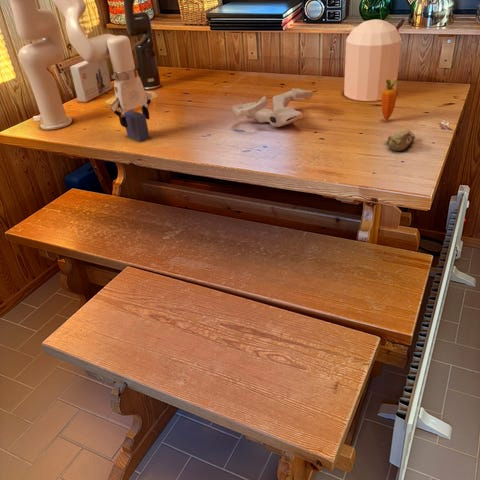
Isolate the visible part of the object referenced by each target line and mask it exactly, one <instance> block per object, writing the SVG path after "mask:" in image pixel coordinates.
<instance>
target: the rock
mask: <svg viewBox="0 0 480 480" xmlns="http://www.w3.org/2000/svg"><path fill="white" fill-rule="evenodd" d="M415 139H416V135H415V134H414V132H412V131H411V130H408V129H407V130H404V131H398V132H396V133H394V134H393V135H392V134H391V135H389V136H388V137H387V143H388V145H387V146H388V147H389V149H391V150H392V151H395V152H404V151H406V150H407V148H409V145H410V144H411V143H412V142H413V141H414V140H415Z"/></svg>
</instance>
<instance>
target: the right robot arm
mask: <svg viewBox="0 0 480 480" xmlns="http://www.w3.org/2000/svg"><path fill="white" fill-rule="evenodd" d="M135 1H136V0H122V3H123V10H124V22H125V27H126V32H127V34H128V35H129V36H130V37H137V36H143V37H141V39H140V40H139V41H137V42H135V44H134V45H133V50H134V54H135V59H136V64H137V67H136V73H137V76H139V77H140V80H141V82H142V85H143V88H144V91H151V90H152V91H153V90H157V89H159V88H161V87H162V83H161V78H160V73H159V72H160V71H159V67H158V66H159V65H158V62H157V61H158V60H157V55H156V50H155V44H154V36H153V27H152V22H151V18H150V15H149V13H148V12H147V11H138V12H134V7H135ZM109 76H110V79H112V77H111V75H109ZM113 81H115V79H113Z"/></svg>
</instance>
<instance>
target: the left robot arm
mask: <svg viewBox="0 0 480 480" xmlns="http://www.w3.org/2000/svg"><path fill="white" fill-rule="evenodd" d="M9 2H10V7H11V10H12V11H11V13H12V16H13V20H14V25H15V29H16V32H17V34H18V36H19V38H20V39H21V40H22V41H24V42H32V43H28V44H26V45H24V46H22V47H21V48H20V49H19V51H18V53H17V57H18V61H19V63H20V65H21V67H22V68H23V70H24V72H25V74H26V76H27V79H28V82H29V85H30V88H31V91H32V93H33V96H34V98H35V102H36V105H37V108H38V111H39V114H40V115H33V116H32V119H33V122H34V123H38V122H40V124H39V126H40V128H41V129H42V130H45V131H51V130H59V129H63V128H65V127H67V126H69V125H71V123H72V122H73V120H72V118H71V117H70V116H67V114H66V110H65V107H64V103H63V100H62V97H61V94H60V90H59V87H58V83H57V81H56V78H55V77H54V76H53V74H52V73H51V72H50V71H49V70H48V68H51V67H53V66H56V65H58V64H60V63H61V62H63V60H64V57H65V51H64V45H63V39H62V33H61V29H60V23H59V21H58V19H57V17H56V15H55V14H54V13H53V12H52V11H51V10H49V9H47V8H39V9H38V6H37V0H9ZM51 2H52V3H53V5H55V7H56V8H57V9H58V11H59V12H60V13H61V15H62V16H63V17H64V20H65V30H66V34H67V38H68V41H69V43H70V45H71V46H72V47H73V49H74V50H75V51H76V52H77V54H78V55H79V56H80V57H81V59H83V61H87V62H89V63H96V62H99V61H102V60H104V59H106V60H107V59H110V62H111V67H112V73H113V74H111V75H110V76H111V80H113V87H114V97H115V100H114V101H113V102H112V103H111V104H110V105H109V109H110V111H111V112H112V113H113V114H115V115H116V116H118V119H119V124H120V126H121V127H123V128H125V129H126V128H127V127H128V125H127V121H126V117H125V116H124V114H125V112H128V111H131V110H134V109H137V108H140V107H141V112H142V113H141V114H144V115H145V117H146V120H150V110H149V109H150V104H151V102H152V97H153V94H152V93H150V92H146V90H144V88H143V85H142V82H141V80H140V77H139V76H138V73H137V68H136V65H135V64H136V63H135V59H134V55H133V50H132V44H131V41H130V38H129V37H128V36H127V35H115V34H111V33H103V34H100V35H96V36H93V37H89V38H88V37H87V35H86V34H85V33H84V32H83V30H82V29H81V26H80V23H79V19H81V17H82V16H83V15H84V13H85V12H86V10H87V4H86V1H85V0H51ZM41 39H42V40H41ZM37 40H40V41H37ZM33 41H35V42H33ZM114 79H115V80H114ZM116 108H118V109H116Z"/></svg>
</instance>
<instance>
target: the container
mask: <svg viewBox="0 0 480 480" xmlns="http://www.w3.org/2000/svg"><path fill="white" fill-rule="evenodd" d="M401 50H402V37H401V35H400V32H399V31H398V29H397V27H396V26H394V25H393V24H392V23H390V22H388V21H386V20H383V19H378V18H377V19H376V18H375V19H369V20H364V21H363V22H361V23H359V24H358V25H356V26H355V27H354V28H352V30H351V31H350V33H349V34H348V36H347V37H346V39H345V55H344V59H345V60H344V81H343V83H344V85H343V94H344V96H345V97H346V98H347V99H351V100H354V101H363V102H377V101H381V98H382V91H383V90H384V89H386V88H387V87H386V85H387V83H386V79H390V82H391V84H393V82H394V80H395V79H397V81H396V83H395V84H394V86H393V88H394V89H395V90H396V91H397V87H398V86H397V85H398V83H397V82H398V76H399V67H400V59H401V58H400V57H401ZM389 86H390V85H389ZM391 86H392V85H391Z"/></svg>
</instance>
